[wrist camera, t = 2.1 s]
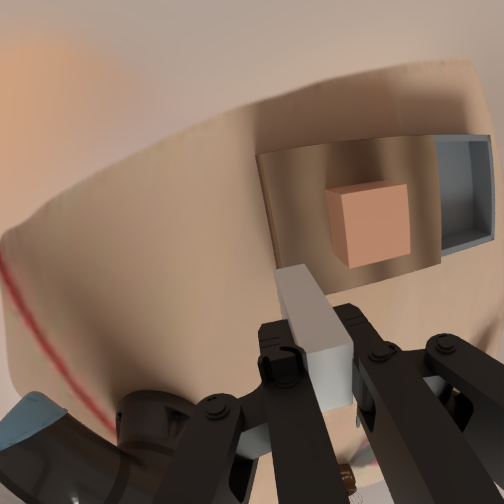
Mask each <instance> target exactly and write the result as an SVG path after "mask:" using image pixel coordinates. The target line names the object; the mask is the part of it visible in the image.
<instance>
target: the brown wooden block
mask: <svg viewBox="0 0 504 504" xmlns="http://www.w3.org/2000/svg"><path fill="white" fill-rule="evenodd" d="M255 157H256V162H257V167H258V172H259V177H260V182H261V187H262V192H263V197H264V202H265V207H266V213H267V218H268V223H269V228H270V234H271V239H272V244H273V249H274V255H275V260H276V266H277V269H281V268H285V267H290V266H295V265H300V264H305V265H306V267H307V268H308V270H309V272H310V273H311V275H312V276H313V278H314V279H315V281H316V283H317V284H318V286H319V287H320V289H321V290H322V292H323V294H324V295H328V294H332V293H336V292H340V291H344V290H348V289H352V288H356V287H360V286H364V285H367V284H371V283H375V282H379V281H382V280H386V279H389V278H393V277H396V276H400V275H403V274H407V273H410V272H414V271H417V270H420V269H424V268H427V267H430V266H434V265H437V264H440V263H441V200H440V185H439V173H438V164H437V155H436V148H435V141H434V135H413V136H396V137H383V138H371V139H361V140H351V141H342V142H334V143H326V144H318V145H311V146H305V147H298V148H292V149H285V150H280V151H274V152H268V153H263V154H259V155H256V156H255ZM382 180H386V181H392V182H398V183H403V184H407V194H408V207H409V223H410V254H406V255H402V256H399V257H395V258H391V259H387V260H383V261H379V262H375V263H371V264H367V265H363V266H359V267H355V268H351V269H349V268H348V267H347V266H346V265H345V264H344V263H343V262H342V261H341V260H340V259H339V258H338V257H336V256H335V255H334V251H333V242H332V234H331V226H330V219H329V212H328V205H327V198H326V191H325V190H326V189H332V188H338V187H344V186H350V185H356V184H362V183H369V182H375V181H382Z"/></svg>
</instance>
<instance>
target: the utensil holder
mask: <svg viewBox="0 0 504 504" xmlns="http://www.w3.org/2000/svg"><path fill="white" fill-rule="evenodd" d="M339 469H340V472H341V475H342V479H343V482H344V485H345V488H346V491H347V495H348V497H349V496H351V495H353V494H354V493H355V492H356V490H357V489H356V486H355V483H356V481H355V477H354V474H353V472H352V469H351V467H350V466H349V465H339ZM349 500H350V499H349ZM352 502H353V501H352Z"/></svg>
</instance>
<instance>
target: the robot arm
mask: <svg viewBox="0 0 504 504" xmlns="http://www.w3.org/2000/svg"><path fill="white" fill-rule="evenodd" d="M274 276H275V281H276V286H277V292H278V297H279V303H280V308H281V314H282V319H283V320H279V321H274V322H269V323H265V324H262V325H261V327H260V329H259V331H258V339H259V346H260V354H261V355H260V356H259V357H258V363H257V364H258V368H259V372H260V376H261V380H262V382H261V384H260V385H259V387H258V388H257V389H255V390H254V391H253V392H251V393H249V394H248V395H245V396H243V397H241V398H238V399H237V398H236V397H234V396H232V395H230V394H224V393H220V394H213V395H210V396H208V397H205V398H204V399H203V400H201V401H200V402H199V403H198V404H197V405H196V406H195V405H193V404H192V403H190V402H188V401H186V400H184V399H182V398H180V397H178V396H175V395H172V394H168V393H164V392H159V391H138V392H134V393H131V394H129V395H127V396H125V397H124V398H123V399H122V400H121V402H120V404H119V407H118V409H117V412H116V436H117V446H115V445H113V444H112V443H110V442H109V441H107V440H105V439H104V438H102V437H101V436H99V435H98V434H96V433H95V432H93V431H92V430H91V429H89V428H88V427H86V426H85V425H84V424H82V423H81V422H79V421H78V420H77V419H75V418H74V417H73V416H71V415H70V414H69V413H67V412H68V410H67V409H65V408H62V407H60V406H59V405H58V404H56V403H55V402H54V401H52V400H51V399H50V398H48V397H47V396H46V395H45V394H43V393H41V392H38V391H32V392H29V393H28V394H27V395H25V396H24V397H23V398H22V399H21V400H20V401H19V402H18V403H17V404H16V405H15V406H14V407H13V408H12V409H11V411H10V412H9V413H8V414H7V415H6V416H5V417H4V418H3V419H2V420H1V421H0V504H248V503H249V499H250V495H251V491H252V486H253V482H254V478H255V473H256V469H257V464H258V460H259V457H260V456H262V455H265V454H267V453H269V452H271V451H272V458H273V465H274V473H275V480H276V487H277V495H278V502H279V504H350V501H349V498H348V495H347V491H346V488H345V485H344V482H343V479H342V475H341V472H340V469H339V466H338V463H337V459H336V456H335V453H334V450H333V447H332V444H331V441H330V437H329V434H328V431H327V428H326V425H325V422H324V419H323V416H322V413H321V412H324V411H328V410H332V409H336V408H339V407H343V406H346V405H349V404H353V394H354V397H355V399H356V401H357V417H356V426H357V428H358V427H360V421H361V424H362V426H363V428H364V431H365V433H366V435H367V438H368V440H369V442H370V445H371V447H372V449H373V452H374V454H375V457H376V459H377V461H378V464H379V466H380V469H381V471H382V474H383V476H384V479H385V481H386V483H387V486H388V488H389V491H390V493H391V496H392V499H393V501H394V504H504V499H503V498H502V496H501V494H500V492H499V490H498V489H497V487H496V485H495V483H496V484H497V485H499V486H500V487H501V488H502V489H503V490H504V364H502V363H500V362H499V361H497V360H496V359H494V358H492V357H491V356H489V355H487V354H486V353H484V352H483V351H481V350H479V349H478V348H476V347H474V346H473V345H471V344H469V343H468V342H466V341H465V340H463V339H461V338H460V337H458V336H455V335H453V334H447V333H443V334H437V335H435V336H432V337H431V338H430V339H429V340H428V341H427V344H426V348H425V349H420V350H411V351H402V350H401V349H400V347H398V346H397V345H396V344H394V343H392V342H389V341H383V339H382V338H381V337H380V335H379V334H378V333H377V331H376V330H375V329H374V327H373V326H372V325H371V323H370V322H368V319H367V318H366V317H365V316H364V314H363V313H362V312H361V310H360V309H359V308H358V307H356V306H354V305H352V304H350V303H347V304H343V305H339V306H335V307H332V306H331V305H330V303H329V302H328V300H327V298H326V297H325V295H324V294H323V292H322V290H321V289H320V287H319V286H318V284H317V283H316V281H315V279H314V278H313V276H312V275H311V273H310V272H309V270H308V268H307V267H306V265H305V264H300V265H295V266H290V267H285V268H281V269H276V270H274ZM454 388H455V389H457V390H458V391H459V392H456V391H454V390H453V389H454ZM493 481H494V482H495V483H494V482H493Z"/></svg>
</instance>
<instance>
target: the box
mask: <svg viewBox="0 0 504 504" xmlns="http://www.w3.org/2000/svg"><path fill="white" fill-rule="evenodd" d="M434 141H435V148H436V155H437V164H438V173H439V185H440V200H441V257H442V256H445V255H448V254H452V253H455V252H458V251H461V250H464V249H468V248H471V247H474V246H477V245H480V244H483V243H486V242H489V241H492V240H494V232H495V184H494V167H493V156H492V147H491V139H490V135H434Z"/></svg>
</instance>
